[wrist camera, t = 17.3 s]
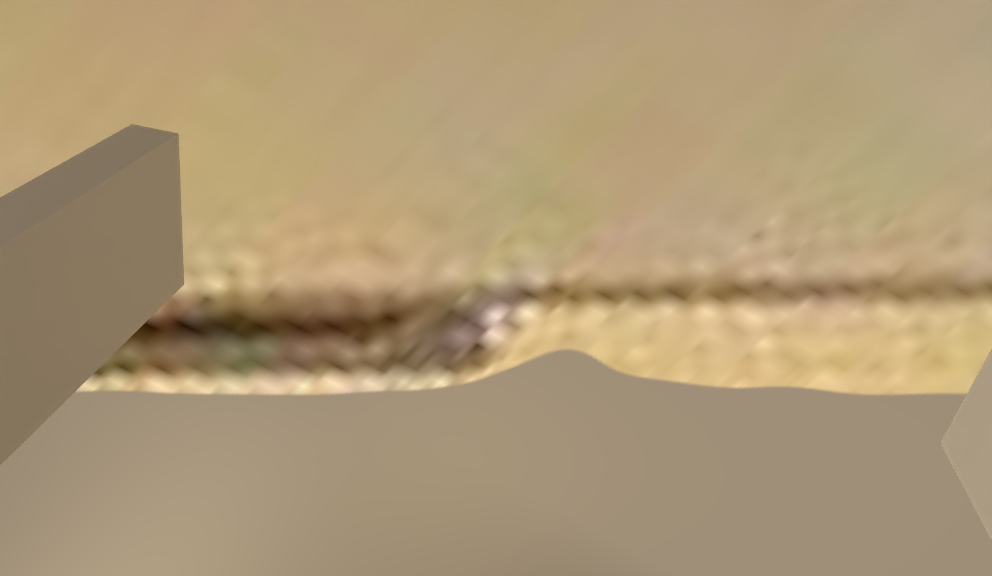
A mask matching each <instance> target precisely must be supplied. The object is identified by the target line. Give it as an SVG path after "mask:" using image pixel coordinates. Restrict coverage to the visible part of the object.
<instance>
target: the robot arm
mask: <svg viewBox="0 0 992 576" xmlns="http://www.w3.org/2000/svg"><path fill="white" fill-rule="evenodd" d="M183 285H184V270H183V243H182V216H181V189H180V162H179V135H178V133H173V132H168V131H163V130H158V129H153V128H148V127H143V126H138V125H133V124H132V125H130V126H128V127H126V128H124V129H123V130H121V131H119V132H117V133H115V134H114V135H112V136H110V137H108V138H106V139H105V140H103V141H101V142H99V143H98V144H96V145H94V146H92V147H90V148H89V149H87V150H85V151H83V152H81V153H80V154H78V155H76V156H74V157H72V158H71V159H69V160H67V161H65V162H63V163H62V164H60V165H58V166H56V167H54V168H53V169H51V170H49V171H47V172H45V173H44V174H42V175H40V176H38V177H37V178H35V179H33V180H31V181H29V182H28V183H26V184H24V185H22V186H20V187H19V188H17V189H15V190H13V191H11V192H10V193H8V194H6V195H4V196H2V197H1V198H0V465H1V464H2V463H3V462H4V461H5V460H6V459H7V458H8V457H9V456H10V455H11V454H12V453H13V452H14V451H15V450H16V449H17V448H18V447H19V446H20V445H21V444H22V443H23V442H24V441H25V440H26V439H27V438H28V437H29V436H30V435H31V434H32V433H33V432H35V431H36V429H38V427H40V426H41V425H42V424H43V423H44V422H45V421H46V420H47V419H48V418H49V417H50V416H51V415H52V414H53V413H54V412H55V411H56V410H57V409H58V408H59V407H60V406H61V405H62V404H63V403H64V402H65V401H66V400H67V399H68V398H69V397H70V396H71V395H72V394H73V393H74V392H75V391H76V390H77V389H78V388H79V387H80V386H81V385H82V384H83V383H84V382H85V381H86V380H87V379H88V378H89V377H90V376H91V375H92V374H93V373H94V372H95V371H96V370H97V369H98V368H99V367H101V366H102V365H103V364H104V363H105V362H106V361H107V360H108V359H109V358H110V357H111V356H112V355H113V354H114V353H115V352H116V351H117V350H118V349H119V348H120V347H121V346H122V345H123V344H124V343H125V342H126V341H127V340H128V339H129V338H130V337H131V336H132V335H133V334H134V333H135V332H136V331H137V330H138V329H139V328H140V327H141V326H142V325H143V324H144V323H145V322H146V321H147V320H148V319H149V318H150V317H151V316H152V315H153V314H154V313H155V312H156V311H157V310H158V309H159V308H160V307H161V306H162V305H163V304H164V303H165V302H167V301H168V300H169V299H170V298H171V297H172V296H173V295H174V294H175V293H176V292H177V291H178V290H179V289H180V288H181V287H182V286H183ZM940 444H941V446H942V448H943V449H944V451H945V453H946V455H947V457H948V459H949V461H950V463H951V464H952V466H953V468H954V470H955V472H956V474H957V476H958V478H959V480H960V482H961V484H962V485H963V487H964V489H965V491H966V493H967V495H968V497H969V499H970V501H971V502H972V504H973V506H974V508H975V510H976V512H977V514H978V516H979V518H980V519H981V521H982V523H983V525H984V527H985V529H986V531H987V533H988V535H989V537H990V538H991V540H992V350H991V351H990V353H989V355H988V357H987V359H986V360H985V362H984V364H983V366H982V368H981V370H980V371H979V373H978V375H977V377H976V379H975V381H974V382H973V384H972V386H971V388H970V390H969V392H968V393H967V395H966V397H965V399H964V401H963V403H962V404H961V407H960V408H959V410H958V412H957V414H956V415H955V417H954V419H953V421H952V423H951V425H950V426H949V428H948V430H947V432H946V434H945V435H944V438H943V439H942V441H941V443H940Z"/></svg>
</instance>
